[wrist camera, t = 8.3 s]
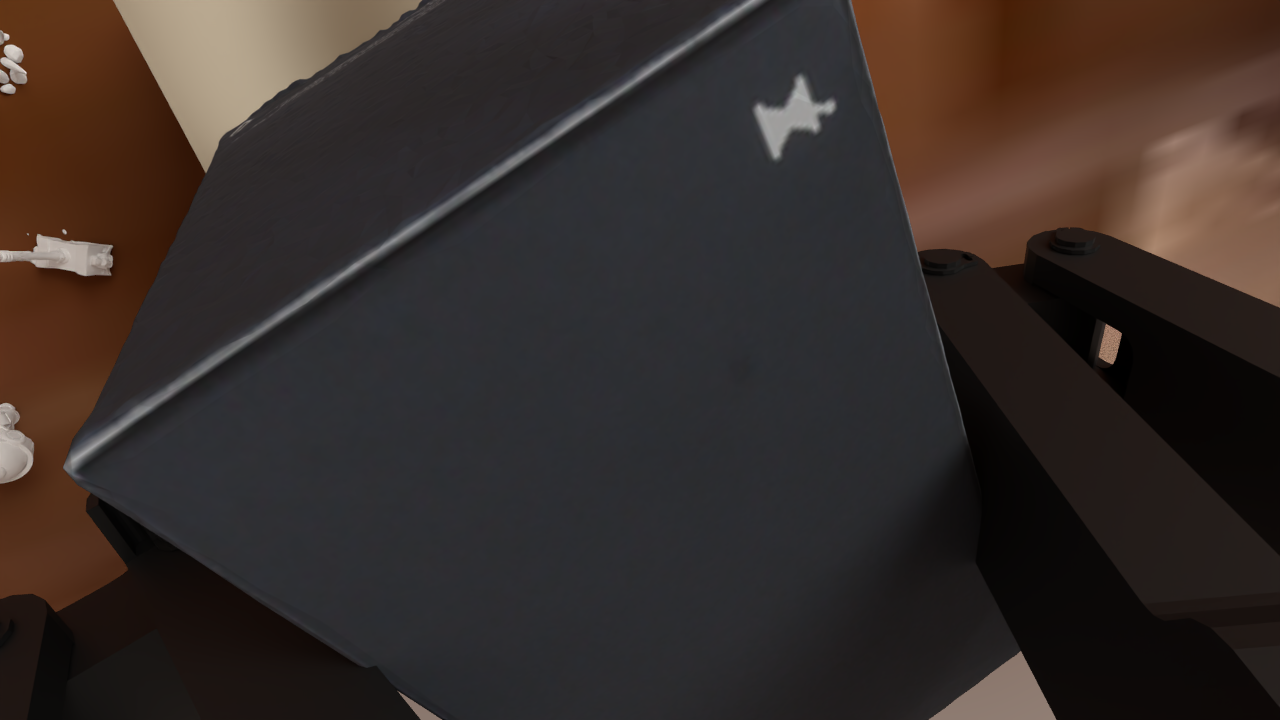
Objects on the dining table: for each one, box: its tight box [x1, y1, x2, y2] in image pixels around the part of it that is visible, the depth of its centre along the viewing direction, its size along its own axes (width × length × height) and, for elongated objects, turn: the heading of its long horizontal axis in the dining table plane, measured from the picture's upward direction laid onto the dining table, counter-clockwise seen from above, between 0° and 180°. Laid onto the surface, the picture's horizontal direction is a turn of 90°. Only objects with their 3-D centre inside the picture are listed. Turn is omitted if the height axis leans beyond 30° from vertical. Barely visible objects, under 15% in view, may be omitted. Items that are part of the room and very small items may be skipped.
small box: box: [63, 0, 1021, 720], centre depth 12 cm, size 11×6×10 cm, turn 28°
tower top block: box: [113, 0, 422, 173], centre depth 19 cm, size 10×13×4 cm
